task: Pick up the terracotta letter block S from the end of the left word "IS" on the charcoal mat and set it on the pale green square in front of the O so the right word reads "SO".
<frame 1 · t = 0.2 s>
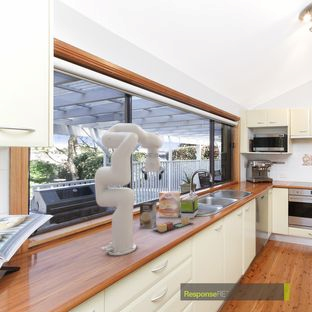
hand: (153, 179, 155), 31 cm above the worktop, tool pointing down, fingers open, 9 cm apart
word mat: (174, 227, 146), on the worktop
tea box: (189, 216, 175), on the worktop
letter S: (168, 228, 142), resting on word mat
coffee box: (148, 227, 147), on the worktop
coffeecake box: (169, 216, 173), on the worktop
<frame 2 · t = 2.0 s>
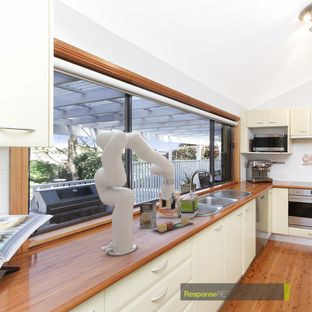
hand: (168, 208, 143), 14 cm above the worktop, tool pointing down, fingers open, 9 cm apart
nothing on the worktop moved.
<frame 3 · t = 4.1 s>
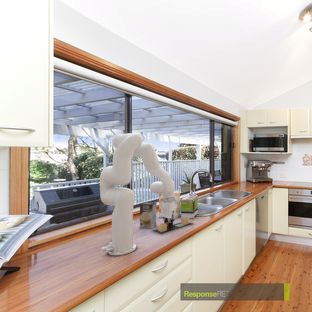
hand: (168, 227, 142), 1 cm above the worktop, tool pointing down, fingers closed on letter S, 4 cm apart
letter S: (168, 228, 142), resting on word mat, touching gripper
everything else where it was.
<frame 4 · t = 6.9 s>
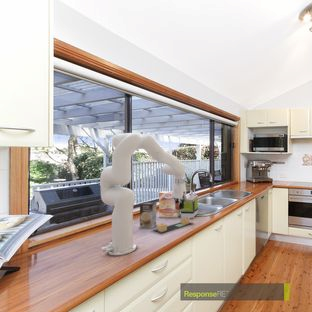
hand: (179, 207, 149), 13 cm above the worktop, tool pointing down, fingers closed on letter S, 4 cm apart
letter S: (179, 209, 149), point 12 cm above the worktop, touching gripper
everything else where it was.
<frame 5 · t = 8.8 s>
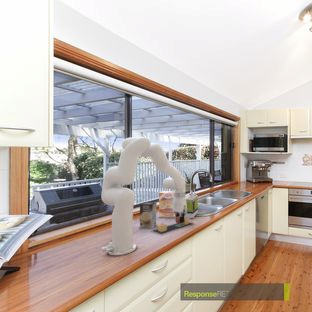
hand: (179, 221, 149), 3 cm above the worktop, tool pointing down, fingers closed on letter S, 4 cm apart
letter S: (180, 222, 149), point 2 cm above the worktop, touching gripper
everything else where it was.
when the fingers open (1 cm above the worktop, at t = 9.7 s): letter S stays where it is, resting on word mat.
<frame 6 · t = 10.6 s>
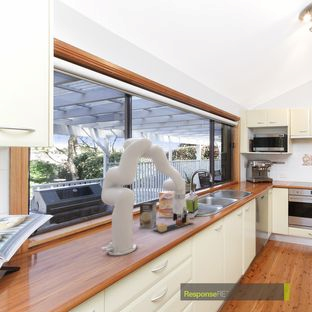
hand: (179, 221, 149), 3 cm above the worktop, tool pointing down, fingers open, 9 cm apart
letter S: (179, 225, 149), resting on word mat
everything else where it was.
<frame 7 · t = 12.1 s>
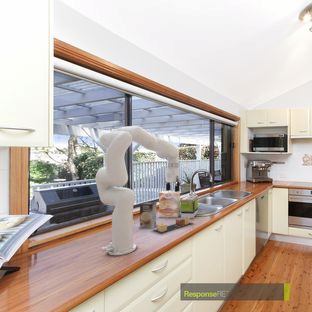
hand: (172, 191, 147), 24 cm above the worktop, tool pointing down, fingers open, 9 cm apart
nothing on the worktop moved.
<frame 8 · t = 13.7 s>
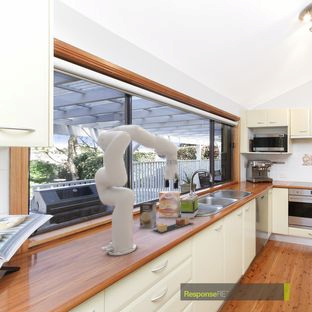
hand: (171, 187, 148), 26 cm above the worktop, tool pointing down, fingers open, 9 cm apart
nothing on the worktop moved.
at the end: letter S 0.1 cm from the target spot, point 0.5 cm above the worktop; letter S tilted 0°; the gripper is holding nothing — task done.
